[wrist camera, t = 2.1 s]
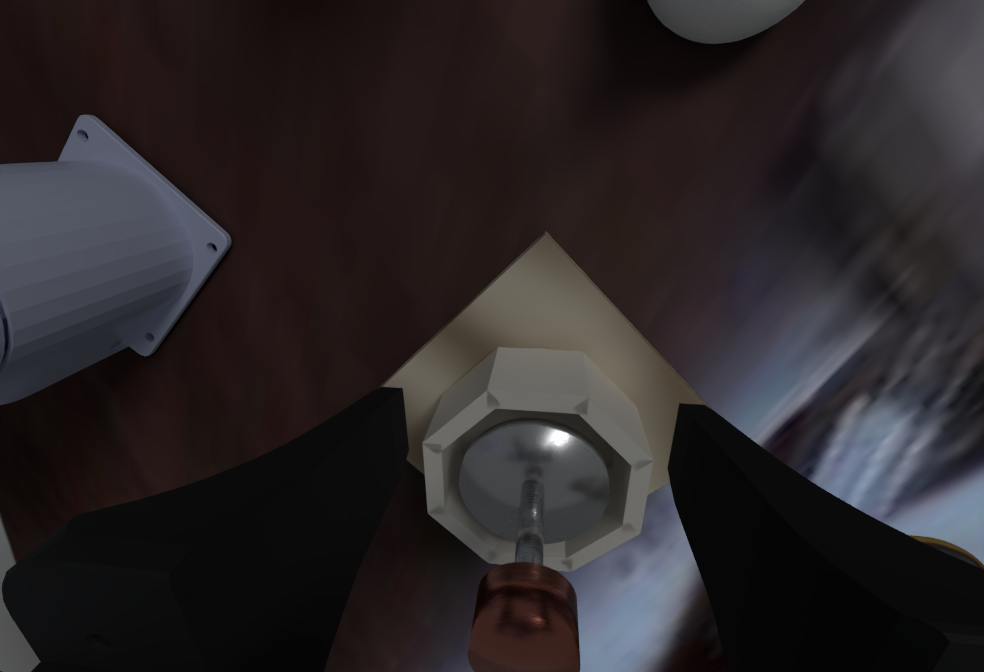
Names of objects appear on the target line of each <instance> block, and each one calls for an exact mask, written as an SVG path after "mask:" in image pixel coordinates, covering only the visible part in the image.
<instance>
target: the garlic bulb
mask: <svg viewBox="0 0 984 672" xmlns="http://www.w3.org/2000/svg"><path fill="white" fill-rule="evenodd" d="M647 1H648V3H649V6H650V7H651V9H652V10H653V12H654V14H655V15H656V17H657V18H658V19H659V20H660V21H661V23H662V24H663V25H665V26H666V27H667V28H669V29H670V30H671V31H673V32H674V33H676V34H678V35H680V36H681V37H683V38H686V39H688V40H691V41H695V42H700V43H708V44H718V43H728V42H734V41H739V40H742V39H744V38H748V37H751V36H753V35H755V34H757V33H760V32H762V31H764V30H766V29H768V28H769V27H771V26H772V25H775V24H776V23H778V22H780V21H781V20H782V19H783V18H785V17H786V16H788V15H789V14H790V13H791V12H792V11H794V10H795V9H796V8H797V7H798V6H799V5H801V4H802V3H803V2H804V1H805V0H647Z"/></svg>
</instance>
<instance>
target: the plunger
mask: <svg viewBox="0 0 984 672" xmlns="http://www.w3.org/2000/svg"><path fill="white" fill-rule="evenodd" d="M459 487H460V492H461V496H462V499H463V501H464V503H465V505H466V507H467V508H468V510H469V512H470V513H471V514H472V515H473V516H474V518H475V519H476V520H477V521H479V522H480V523H481V524H482V525H483V526H485V527H486V528H487V529H489V530H490V531H492V532H494V533H495V534H498V535H500V536H502V537H504V538H507V539H510V540H513V541H516V552H515V562H512V563H507V564H503V565H500V566H497V567H495V568H493V569H492V570H490V571H489V572H488V573H487V574H486V575H485V576H484V577H483V578H482V580H481V582H480V584H479V588H478V594H477V600H476V606H475V612H474V618H473V624H472V630H471V636H470V643H469V649H468V660H469V663H470V665H471V667H472V669H473V670H474V671H475V672H580V651H579V632H578V613H577V597H576V593H575V590H574V588H573V586H572V585H571V583H570V582H569V581H568V580H567V579H566V578H565V577H564V576H563V575H561V574H560V573H558V572H557V571H555V570H553V569H551V568H549V567H546V566H544V565H543V546H544V544H552V543H559V542H563V541H567V540H569V539H572V538H575V537H577V536H579V535H581V534H583V533H584V532H586V531H587V530H589V529H590V528H591V527H592V526H593V525H594V524H596V522H597V521H598V520H599V519H600V518H601V516H602V515H603V513H604V511H605V509H606V507H607V504H608V501H609V497H610V483H609V476H608V470H607V467H606V463H605V461H604V459H603V457H602V454H601V453H600V452H599V450H598V449H597V447H596V446H595V445H594V444H593V443H592V442H591V441H590V440H589V439H588V438H587V437H586V436H585V435H583V434H582V433H580V432H579V431H577V430H576V429H574V428H572V427H570V426H568V425H566V424H563V423H560V422H557V421H553V420H549V419H543V418H516V419H511V420H507V421H504V422H501V423H498V424H496V425H494V426H492V427H490V428H488V429H487V430H485V431H484V432H482V433H481V434H480V435H479V436H478V437H476V438H475V440H474V441H473V442H472V443H471V444H470V446H469V448H468V449H467V451H466V453H465V456H464V458H463V462H462V465H461V469H460V474H459Z"/></svg>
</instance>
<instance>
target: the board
mask: <svg viewBox="0 0 984 672" xmlns="http://www.w3.org/2000/svg"><path fill="white" fill-rule="evenodd" d="M498 347H507V348H522V347H548V348H555V349H559V350H565V351H583V352H584V353H585V354H586V355H587V356H588V358H589V359H590V360H591V361H592V362H593V363H594V364H595V365H596V366H597V367H598V368H599V369H600V370H601V371H603V372H604V373H605V374H606V375H607V376H608V377H609V378H610V380H611V381H612V382H613V383H614V384H615V385H616V386H617V387H618V388H619V389H620V390H621V391H622V392H623V393H624V394H625V395H626V396H627V397H628V398H629V399H630V400H631V401H632V402H633V403H634V404H635V405H636V406H637V410H638V413H639V416H640V419H641V422H642V426H643V429H644V432H645V435H646V439H647V442H648V445H649V448H650V451H651V455H652V458H653V466H652V472H651V478H650V483H649V489H648V494H647V495H649V494H650V493H652V492H654V491H655V490H657V489H659V488H661V487H662V486H664V485H666V484H667V483H669V482H670V479H669V474H668V469H667V468H668V462H669V457H670V451H671V446H672V440H673V435H674V429H675V424H676V418H677V413H678V407H679V403H683V404H702V405H706V406H707V407H709V406H708V405H707V404H706V403H705V402H704V401H703V400H702V399H701V398H700V396H699V395H698V394H697V393H696V392H695V391H694V390H693V389H692V388H691V387H690V386H689V385H688V384H687V383H686V381H685V380H684V379H683V378H682V377H681V376H680V375H679V374H678V373H677V372H676V371H675V370H674V369H673V367H672V366H671V365H670V364H669V363H668V362H667V361H666V360H665V359H664V358H663V357H662V356H661V355H660V353H659V352H658V351H657V350H656V349H655V348H654V347H653V346H652V345H651V344H650V343H649V342H648V341H647V339H646V338H645V337H644V336H643V335H642V334H641V333H640V332H639V331H638V330H637V329H636V328H635V327H634V326H633V324H632V323H631V322H630V321H629V320H628V319H627V318H626V317H625V316H624V315H623V314H622V313H621V312H620V310H619V309H618V308H617V307H616V306H615V305H614V304H613V303H612V302H611V301H610V300H609V299H608V298H607V296H606V295H605V294H604V293H603V292H602V291H601V290H600V289H599V288H598V287H597V286H596V285H595V284H594V282H593V281H592V280H591V279H590V278H589V277H588V276H587V275H586V274H585V273H584V272H583V271H582V270H581V269H580V267H579V266H578V265H577V264H576V263H575V262H574V261H573V260H572V259H571V258H570V257H569V256H568V255H567V253H566V252H565V251H564V250H563V249H562V248H561V247H560V246H559V245H558V244H557V243H556V242H555V241H554V239H553V238H552V237H551V236H550V235H549V234H548V233H547V232H546V231H545V232H544V233H543V234H542V235H541V236H540V237H539V238H538V239H537V240H535V241H534V242H533V243H532V244H531V245H530V246H529V247H528V248H527V249H526V250H525V251H524V252H523V253H522V254H521V255H519V256H518V257H517V258H516V259H515V260H514V261H513V262H512V263H511V264H510V265H509V266H508V267H507V268H506V269H505V270H503V271H502V272H501V273H500V274H499V275H498V276H497V277H496V278H495V279H494V280H493V281H492V282H491V283H490V284H489V285H487V286H486V287H485V288H484V289H483V290H482V291H481V292H480V293H479V294H478V295H477V296H476V297H475V298H474V299H473V300H471V301H470V302H469V303H468V304H467V305H466V306H465V307H464V308H463V309H462V310H461V311H460V312H459V313H458V314H457V315H455V316H454V317H453V318H452V319H451V320H450V321H449V322H448V323H447V324H446V325H445V326H444V327H443V328H442V329H441V330H439V331H438V332H437V333H436V334H435V335H434V336H433V337H432V338H431V339H430V340H429V341H428V342H427V343H426V344H424V345H423V346H422V347H421V348H420V349H419V350H418V351H417V352H416V353H415V354H414V355H413V356H412V357H411V358H410V359H408V360H407V361H406V362H405V363H404V364H403V365H402V366H401V367H400V368H399V369H398V370H397V371H396V372H395V373H394V374H392V375H391V376H390V377H389V378H388V379H387V380H386V381H385V382H384V383H383V384H382V385H381V386H380V387H394V388H403V395H404V404H405V414H406V424H407V434H408V444H409V452H408V455H407V459H406V460H407V461H408V462H410V463H411V464H412V465H413V466H414V467H415V468H417V469H418V470H419V471H420V472H421V473H423V474H424V475H425V471H424V457H423V444H422V443H423V441H424V438H425V436H426V434H427V431H428V429H429V426H430V424H431V422H432V419H433V417H434V415H435V412H436V410H437V408H438V405H439V403H440V401H441V398H442V396H443V394H444V393H445V392H446V391H448V390H449V389H450V388H451V387H452V386H453V385H455V384H456V383H457V382H458V381H459V380H460V379H462V378H463V377H464V376H465V375H466V374H467V373H468V372H469V371H470V370H471V369H472V368H474V367H475V366H476V365H478V364H479V363H480V362H481V361H483V360H484V359H485V358H486V357H487V356H488V355H490V354H491V353H492V352H493V351H494V350H495V349H497V348H498ZM380 387H379V388H380ZM709 408H710V407H709ZM710 409H711V408H710Z"/></svg>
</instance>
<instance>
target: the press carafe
mask: <svg viewBox="0 0 984 672" xmlns="http://www.w3.org/2000/svg"><path fill="white" fill-rule="evenodd" d="M516 418H543V419H549V420H553V421H557V422H560V423H563V424H566V425H568V426H570V427H572V428H574V429H576V430H577V431H579V432H580V433H582V434H583V435H585V436H586V437H587V438H588V439H589V440H590V441H591V442H592V443H593V444H594V445H595V446H596V447H597V449H598V450H599V452H600V453H601V454H602V457H603V459H604V461H605V463H606V467H607V470H608V476H609V483H610V497H609V501H608V504H607V507H606V509H605V511H604V513H603V515H602V516H601V518H600V519H599V520H598V521H597V522H596V524H594V525H593V526H592V527H591V528H590V529H589V530H587V531H586V532H584V533H583V534H581V535H579V536H577V537H575V538H572V539H569V540H567V541H563V542H559V543H552V544H544V546H543V565H544V566H546V567H549V568H551V569H553V570H559V571H568V572H572V571H574V570H576V569H578V568H579V567H581V566H583V565H585V564H587V563H588V562H590V561H592V560H594V559H596V558H597V557H599V556H601V555H603V554H605V553H606V552H608V551H610V550H612V549H614V548H615V547H617V546H619V545H621V544H623V543H624V542H626V541H628V540H630V539H632V538H633V537H635V536H637V535H639V534H641V528H642V523H643V517H644V511H645V506H646V500H647V494H648V489H649V483H650V478H651V472H652V466H653V458H652V455H651V451H650V448H649V445H648V442H647V439H646V435H645V432H644V429H643V426H642V422H641V419H640V416H639V413H638V410H637V406H636V405H635V404H634V403H633V402H632V401H631V400H630V399H629V398H628V397H627V396H626V395H625V394H624V393H623V392H622V391H621V390H620V389H619V388H618V387H617V386H616V385H615V384H614V383H613V382H612V381H611V380H610V378H609V377H608V376H607V375H606V374H605V373H604V372H603V371H601V370H600V369H599V368H598V367H597V366H596V365H595V364H594V363H593V362H592V361H591V360H590V359H589V358H588V356H587V355H586V354H585V353H584V352H583V351H565V350H559V349H555V348H548V347H522V348H507V347H498V348H497V349H495V350H494V351H493V352H492V353H491V354H490V355H488V356H487V357H486V358H485V359H484V360H483V361H481V362H480V363H479V364H478V365H476V366H475V367H474V368H472V369H471V370H470V371H469V372H468V373H467V374H466V375H465V376H464V377H463V378H462V379H460V380H459V381H458V382H457V383H456V384H455V385H453V386H452V387H451V388H450V389H449V390H448V391H446V392H445V393H444V394H443V396H442V398H441V401H440V403H439V405H438V408H437V410H436V412H435V415H434V417H433V419H432V422H431V424H430V426H429V429H428V431H427V434H426V436H425V438H424V441H423V443H422V444H423V457H424V471H425V484H426V497H427V510H428V514H429V515H430V516H431V517H433V518H434V519H435V520H436V521H438V522H439V523H440V524H441V525H442V526H444V527H445V528H446V529H447V530H448V531H450V532H451V533H452V534H453V535H455V536H456V537H457V538H458V539H459V540H461V541H462V542H463V543H464V544H466V545H467V546H468V547H469V548H470V549H472V550H473V551H474V552H475V553H476V554H478V555H479V556H480V557H481V558H483V559H484V560H485V561H486V562H487V563H492V564H502V565H503V564H507V563H512V562H515V552H516V541H513V540H510V539H507V538H504V537H502V536H500V535H498V534H495V533H494V532H492V531H490V530H489V529H487V528H486V527H485V526H483V525H482V524H481V523H480V522H479V521H477V520H476V519H475V518H474V516H473V515H472V514H471V513H470V512H469V510H468V508H467V507H466V505H465V503H464V501H463V499H462V496H461V492H460V487H459V474H460V469H461V465H462V462H463V458H464V456H465V453H466V451H467V449H468V448H469V446H470V444H471V443H472V442H473V441H474V440H475V438H476V437H478V436H479V435H480V434H481V433H482V432H484V431H485V430H487V429H488V428H490V427H492V426H494V425H496V424H498V423H501V422H504V421H507V420H511V419H516Z"/></svg>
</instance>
